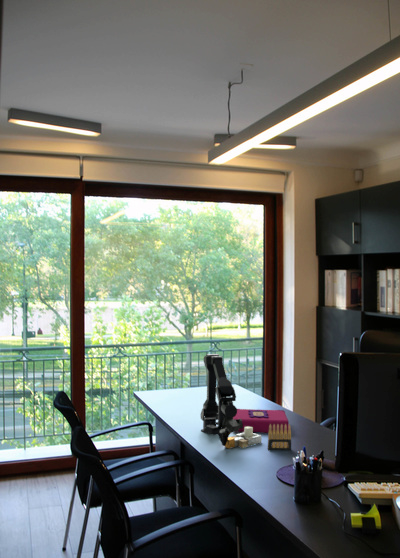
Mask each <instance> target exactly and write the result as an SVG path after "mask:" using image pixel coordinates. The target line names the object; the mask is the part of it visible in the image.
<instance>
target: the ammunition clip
mask: <svg viewBox="0 0 400 558" xmlns="http://www.w3.org/2000/svg"><path fill="white" fill-rule="evenodd" d="M291 430H292V428H291V424H290V423H289V426H288V434H287V426H286V424H285V427H284V433H283V425H282V424H281V428H280V433H279V424H277V430H276V432H275V424H274V425H273V432H272V427H271V424H270V426H269V433H267V434H268V435H267V437H268V439H267V450H268V451H269V450H270V451H271V452H273V451H275V452H276V451H279V452H281V451H288V452H289V451H292V431H291Z"/></svg>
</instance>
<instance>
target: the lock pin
mask: <svg viewBox="0 0 400 558" xmlns="http://www.w3.org/2000/svg"><path fill="white" fill-rule="evenodd" d="M242 439H244V438H242V437H236V438H232V437H231V436H229V437H228V439H227V442H226V445H225V446H224V448H227V449H232V448H237V447H239V440H242Z"/></svg>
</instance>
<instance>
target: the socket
mask: <svg viewBox="0 0 400 558" xmlns="http://www.w3.org/2000/svg"><path fill="white" fill-rule="evenodd" d="M235 436H236V437H242V438H244V432H239V433H237V434H235ZM245 440H247V447H248V446H249V447H252V446H255V445H254V444H256V445H259V444H258V443H260V444H262V435H261V434H258V433H253V437H249V438H248V437H246V438H245ZM251 445H252V446H251Z"/></svg>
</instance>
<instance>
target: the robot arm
mask: <svg viewBox="0 0 400 558" xmlns="http://www.w3.org/2000/svg"><path fill="white" fill-rule="evenodd" d="M223 361H224V359H223V356H222V355H220V354H219V353H206V354H205V355H204V356H203V363H204V364H203V365H204V367H205V369H206V370H207V373H206V374H207V376H206V377H207V384H206V400H205V401H204V403H203V404H202V409H201V411H200V420H201V421H202V422H203V425H202V429H200V431H201V432H203V433H205V434H208V435H212V436H216V435H217V436H218V438H219V441H220V443H221V445H222V446H223V447H225V445H226V442H227V439H228V437H230V435H231V434H232V433H236V432H235V431H238V430H239V429H241V428H243V423H242V420H241V419H237V420H236V419H235V420H234V419H233V417H235V416H236V414H237V409H238V408H237V407H236V406H235V405H234V402H236V401H237V400H236V398H237V395H236V391H235V388H234V386H233V385H232V382H231V380H229V379H228V377H227V373H226V370H225V367H224V363H223ZM217 401H218V402H217Z"/></svg>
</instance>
